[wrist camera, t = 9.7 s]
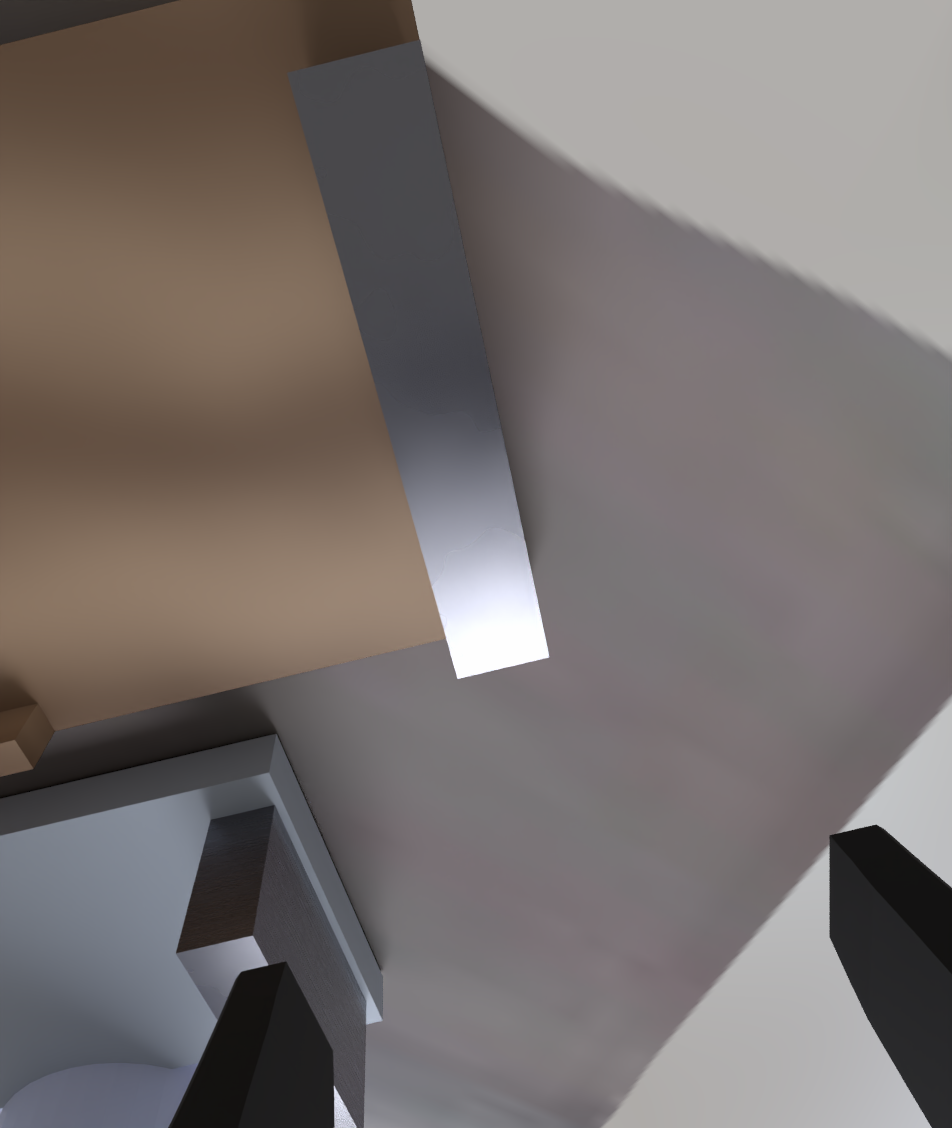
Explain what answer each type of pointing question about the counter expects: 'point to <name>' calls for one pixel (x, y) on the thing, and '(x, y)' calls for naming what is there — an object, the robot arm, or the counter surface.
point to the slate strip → (172, 917)
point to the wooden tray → (237, 367)
